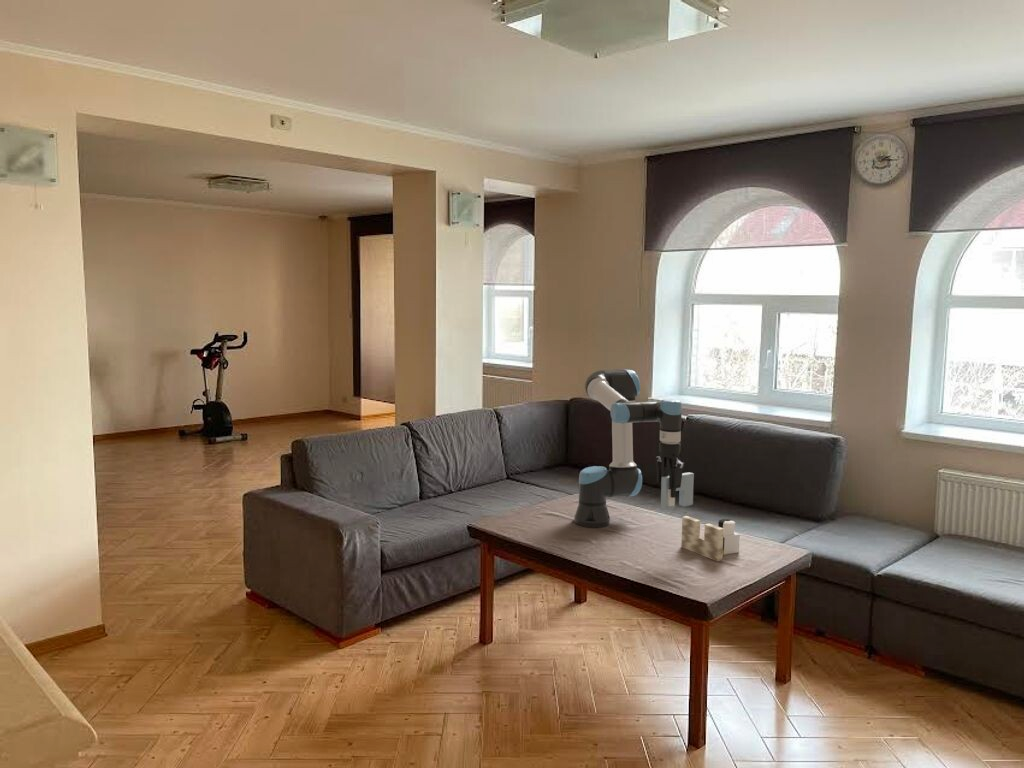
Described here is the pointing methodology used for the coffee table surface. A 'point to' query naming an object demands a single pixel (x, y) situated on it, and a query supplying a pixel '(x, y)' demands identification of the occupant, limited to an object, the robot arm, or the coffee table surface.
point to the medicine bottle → (729, 536)
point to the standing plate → (702, 538)
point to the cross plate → (684, 490)
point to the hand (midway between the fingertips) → (668, 504)
